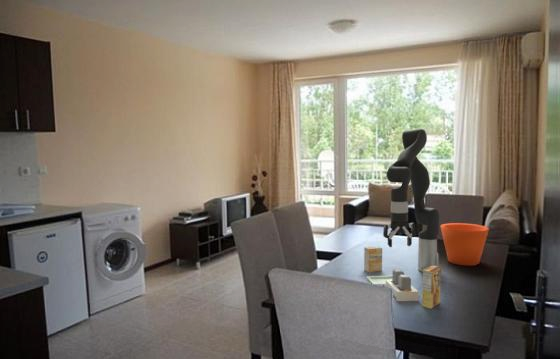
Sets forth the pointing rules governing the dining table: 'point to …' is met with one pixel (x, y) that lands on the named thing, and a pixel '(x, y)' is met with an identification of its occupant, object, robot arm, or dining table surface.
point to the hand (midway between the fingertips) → (399, 246)
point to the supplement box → (372, 259)
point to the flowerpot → (464, 242)
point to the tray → (379, 279)
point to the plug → (396, 275)
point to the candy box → (431, 286)
